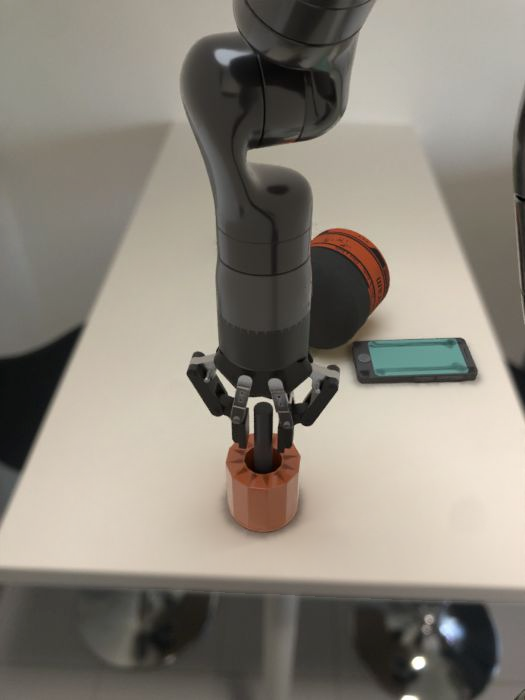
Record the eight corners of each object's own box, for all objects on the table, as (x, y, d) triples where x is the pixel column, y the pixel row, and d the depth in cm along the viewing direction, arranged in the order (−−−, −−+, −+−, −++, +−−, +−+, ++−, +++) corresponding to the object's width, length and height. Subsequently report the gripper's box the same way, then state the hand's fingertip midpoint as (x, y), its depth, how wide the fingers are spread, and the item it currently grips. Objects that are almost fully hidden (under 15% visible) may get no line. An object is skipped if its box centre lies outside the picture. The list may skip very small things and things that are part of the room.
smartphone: (351, 339, 89) (464, 336, 90) (350, 346, 90) (462, 343, 90) (359, 377, 84) (480, 373, 84) (359, 385, 85) (478, 381, 85)
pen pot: (293, 536, 68) (296, 492, 63) (222, 527, 68) (220, 484, 64) (300, 479, 73) (303, 435, 69) (235, 472, 74) (233, 428, 69)
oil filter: (385, 324, 94) (397, 243, 85) (343, 374, 86) (352, 290, 78) (304, 293, 99) (308, 215, 91) (258, 338, 91) (257, 256, 83)
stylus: (270, 508, 70) (271, 416, 61) (253, 506, 70) (252, 414, 61) (272, 494, 71) (274, 402, 62) (255, 492, 71) (255, 400, 62)
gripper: (165, 319, 52) (182, 466, 63) (350, 336, 50) (334, 484, 61) (187, 265, 57) (199, 409, 68) (354, 279, 56) (339, 423, 67)
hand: (263, 443), depth 65 cm, fingers open, 3 cm apart
